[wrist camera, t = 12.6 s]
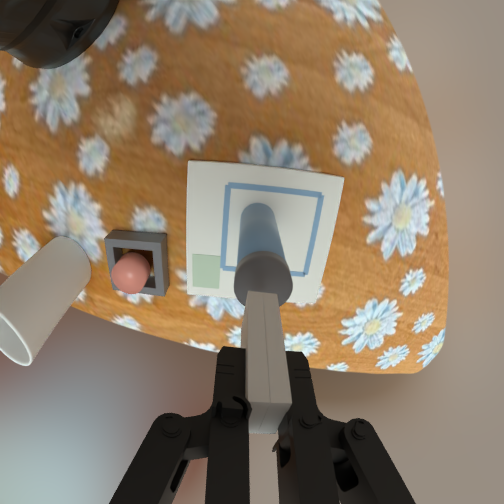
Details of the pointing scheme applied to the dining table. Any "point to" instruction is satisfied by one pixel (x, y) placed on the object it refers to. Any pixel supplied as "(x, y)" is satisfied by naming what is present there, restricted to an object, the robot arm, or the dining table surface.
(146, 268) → the button
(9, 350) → the cup
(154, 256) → the button housing
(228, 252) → the board
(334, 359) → the dining table surface
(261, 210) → the marker
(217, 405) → the robot arm
